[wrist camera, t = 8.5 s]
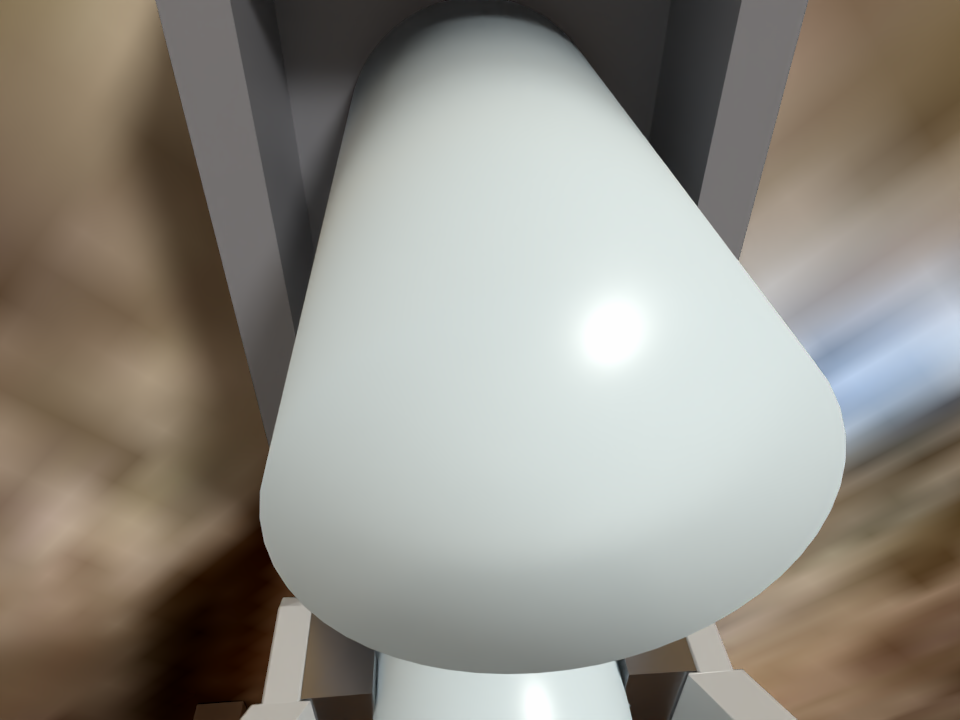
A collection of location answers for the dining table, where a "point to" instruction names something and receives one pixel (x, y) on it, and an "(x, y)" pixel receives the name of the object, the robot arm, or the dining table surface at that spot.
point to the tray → (509, 327)
